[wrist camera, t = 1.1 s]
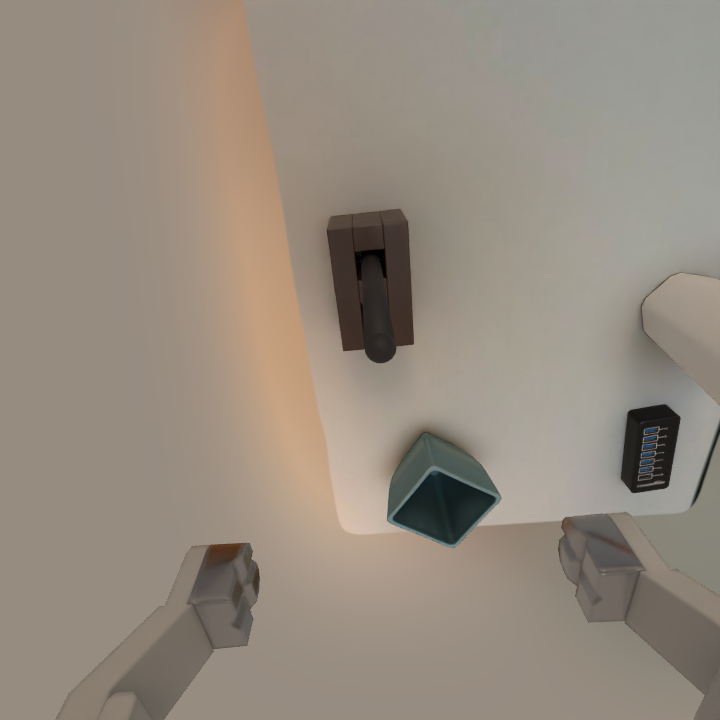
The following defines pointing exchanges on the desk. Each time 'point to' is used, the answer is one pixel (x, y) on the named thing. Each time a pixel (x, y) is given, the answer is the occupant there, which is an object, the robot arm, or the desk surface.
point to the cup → (688, 326)
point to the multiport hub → (649, 448)
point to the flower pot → (440, 492)
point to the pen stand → (394, 241)
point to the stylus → (376, 310)
